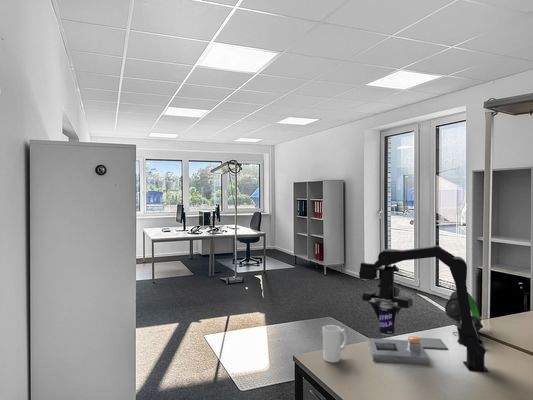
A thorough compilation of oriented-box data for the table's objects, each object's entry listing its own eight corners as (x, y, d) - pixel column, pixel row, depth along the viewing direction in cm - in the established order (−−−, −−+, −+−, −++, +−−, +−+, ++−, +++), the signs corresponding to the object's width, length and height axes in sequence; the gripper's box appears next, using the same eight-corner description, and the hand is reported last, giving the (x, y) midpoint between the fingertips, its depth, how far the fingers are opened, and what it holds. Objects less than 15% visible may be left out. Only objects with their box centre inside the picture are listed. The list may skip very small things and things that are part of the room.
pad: (447, 349, 152) (447, 348, 152) (421, 348, 153) (421, 346, 153) (440, 340, 162) (440, 338, 162) (416, 338, 163) (416, 337, 163)
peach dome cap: (421, 347, 145) (421, 340, 144) (409, 346, 145) (409, 340, 145) (418, 343, 149) (418, 336, 149) (407, 342, 150) (407, 335, 150)
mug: (328, 364, 139) (327, 332, 139) (319, 356, 146) (319, 326, 146) (351, 360, 143) (351, 328, 142) (342, 353, 149) (342, 323, 149)
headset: (461, 359, 162) (470, 312, 182) (492, 355, 152) (498, 306, 173) (435, 328, 161) (447, 285, 181) (465, 322, 151) (474, 277, 172)
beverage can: (376, 332, 151) (376, 302, 150) (388, 330, 152) (388, 301, 152) (385, 337, 145) (384, 306, 145) (397, 335, 147) (397, 304, 147)
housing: (428, 364, 139) (428, 350, 139) (373, 360, 142) (373, 347, 142) (418, 347, 154) (418, 334, 154) (368, 344, 158) (368, 332, 158)
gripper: (417, 281, 149) (417, 320, 149) (372, 275, 161) (372, 311, 161) (407, 286, 140) (407, 328, 140) (361, 279, 152) (361, 318, 152)
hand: (386, 320), depth 149 cm, fingers closed on beverage can, 6 cm apart
